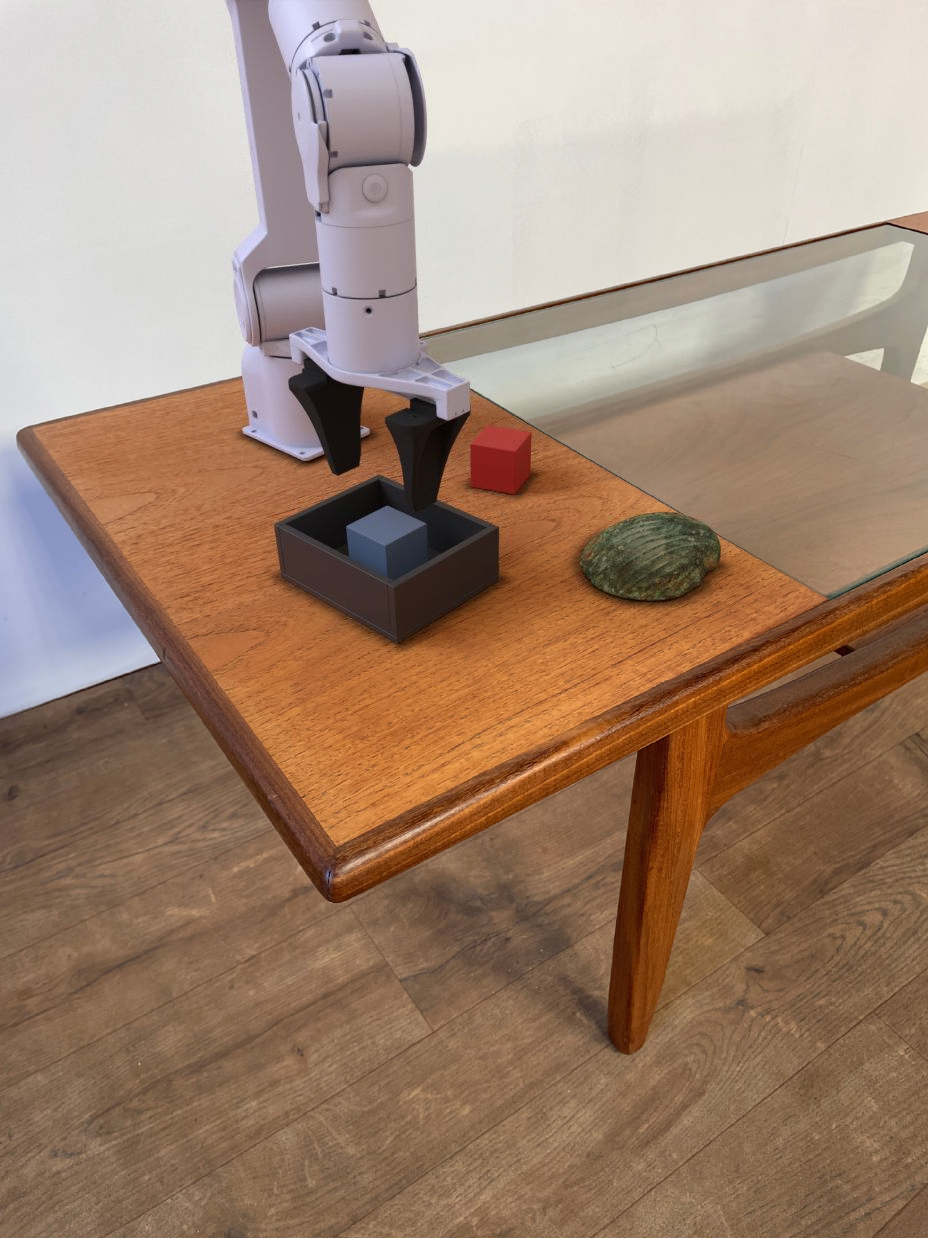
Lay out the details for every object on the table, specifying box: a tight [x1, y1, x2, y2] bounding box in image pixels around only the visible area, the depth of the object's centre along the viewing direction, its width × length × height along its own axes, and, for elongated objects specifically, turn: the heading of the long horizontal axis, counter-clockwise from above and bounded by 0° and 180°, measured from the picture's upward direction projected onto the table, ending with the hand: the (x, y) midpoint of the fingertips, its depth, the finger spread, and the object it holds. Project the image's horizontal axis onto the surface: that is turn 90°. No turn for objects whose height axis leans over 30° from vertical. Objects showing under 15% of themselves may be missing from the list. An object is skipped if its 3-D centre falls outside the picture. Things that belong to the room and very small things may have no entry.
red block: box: [469, 424, 533, 495], centre depth 81 cm, size 4×4×4 cm
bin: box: [273, 473, 500, 645], centre depth 68 cm, size 12×10×4 cm
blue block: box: [346, 506, 428, 581], centre depth 68 cm, size 4×4×4 cm
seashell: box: [579, 511, 722, 602], centre depth 70 cm, size 10×4×10 cm
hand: (383, 486), depth 66 cm, fingers open, 7 cm apart
